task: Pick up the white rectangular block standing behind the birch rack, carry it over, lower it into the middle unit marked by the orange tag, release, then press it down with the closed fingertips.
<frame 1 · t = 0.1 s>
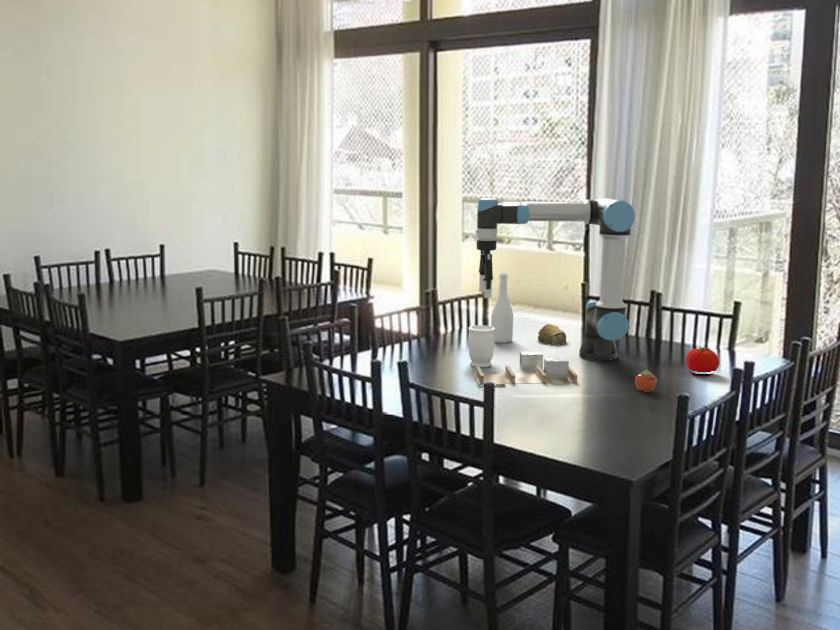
hand: (485, 294, 335), 28 cm above the table, fingers open, 13 cm apart
jar: (480, 365, 341), on the table
installed panel: (555, 378, 319), point 1 cm above the table, touching rack
rack: (525, 381, 318), on the table
white rectangular block: (530, 371, 333), on the table
tomato: (700, 374, 332), on the table
wine bottle: (501, 341, 384), on the table
pastry: (551, 342, 384), on the table
tomato 2: (645, 391, 307), on the table
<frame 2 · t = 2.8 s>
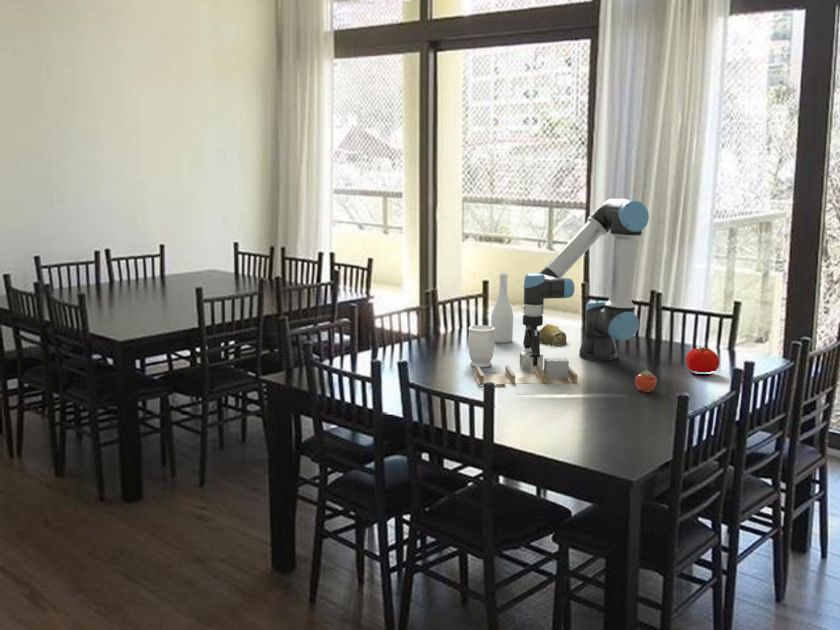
hand: (530, 369, 333), 1 cm above the table, fingers open, 13 cm apart
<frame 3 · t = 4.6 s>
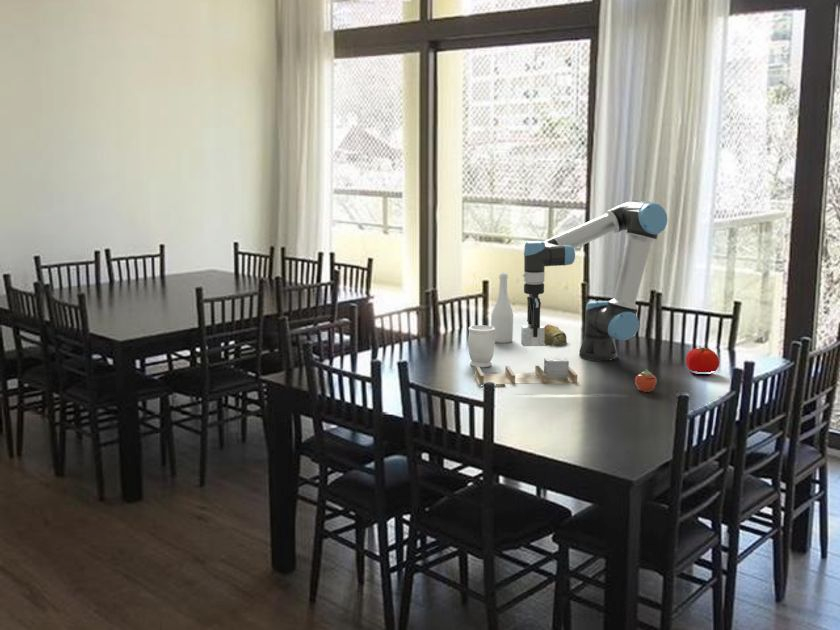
hand: (533, 343, 332), 11 cm above the table, fingers closed on white rectangular block, 4 cm apart
white rectangular block: (532, 344, 332), point 10 cm above the table, touching gripper
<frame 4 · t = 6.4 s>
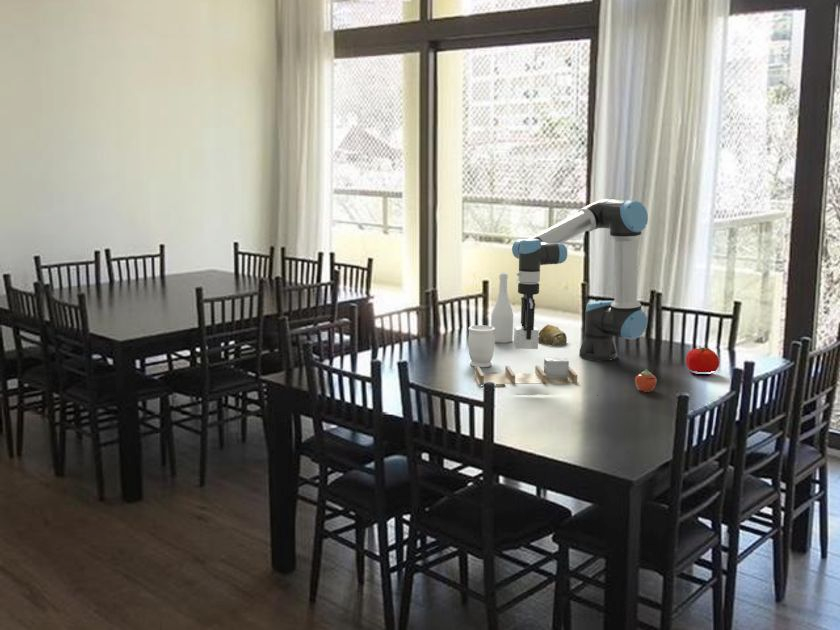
hand: (526, 346, 316), 13 cm above the table, fingers closed on white rectangular block, 4 cm apart
white rectangular block: (525, 347, 316), point 13 cm above the table, touching gripper
when the fingers open (1 cm above the table, at t = 8.6 s): white rectangular block stays where it is, resting on rack.
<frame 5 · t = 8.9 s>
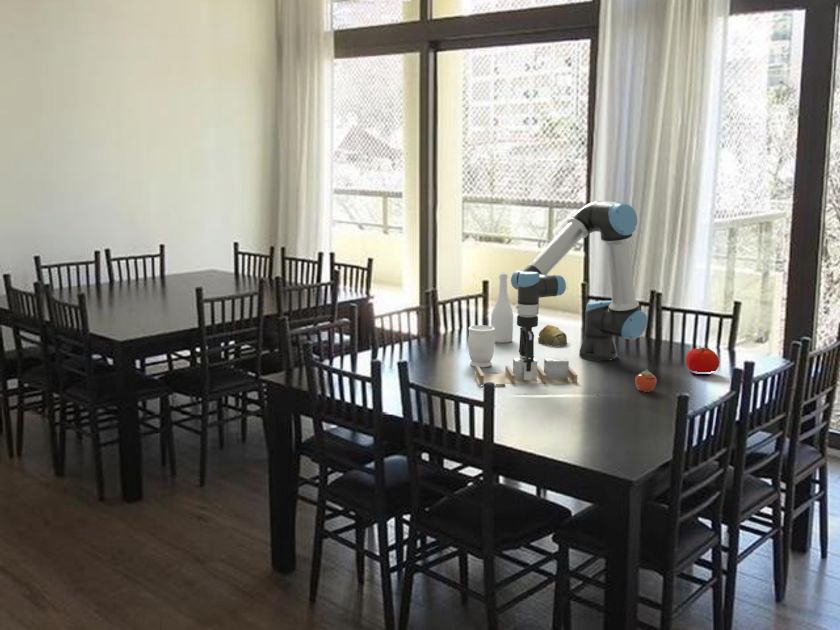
hand: (525, 376, 318), 2 cm above the table, fingers open, 8 cm apart
white rectangular block: (524, 378, 318), point 1 cm above the table, touching rack
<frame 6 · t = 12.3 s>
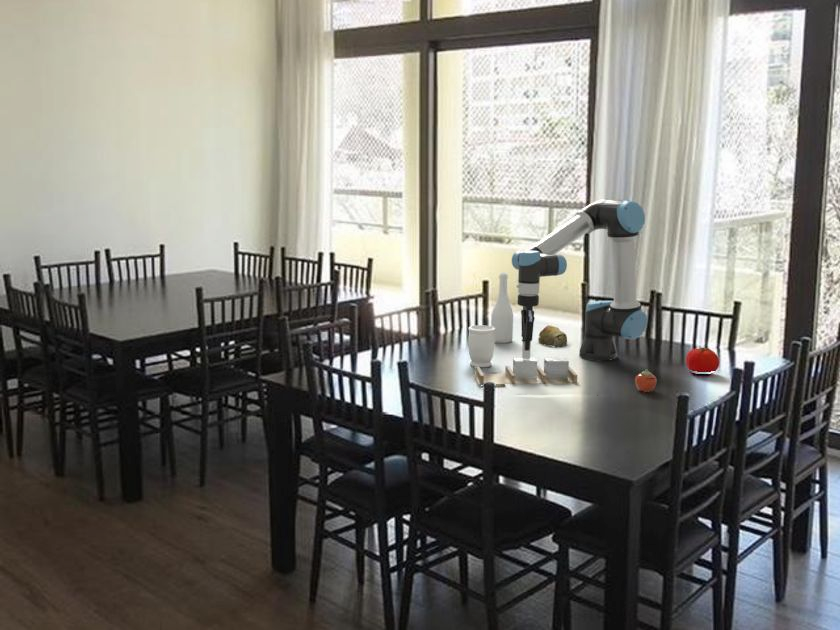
hand: (526, 358, 317), 9 cm above the table, fingers closed
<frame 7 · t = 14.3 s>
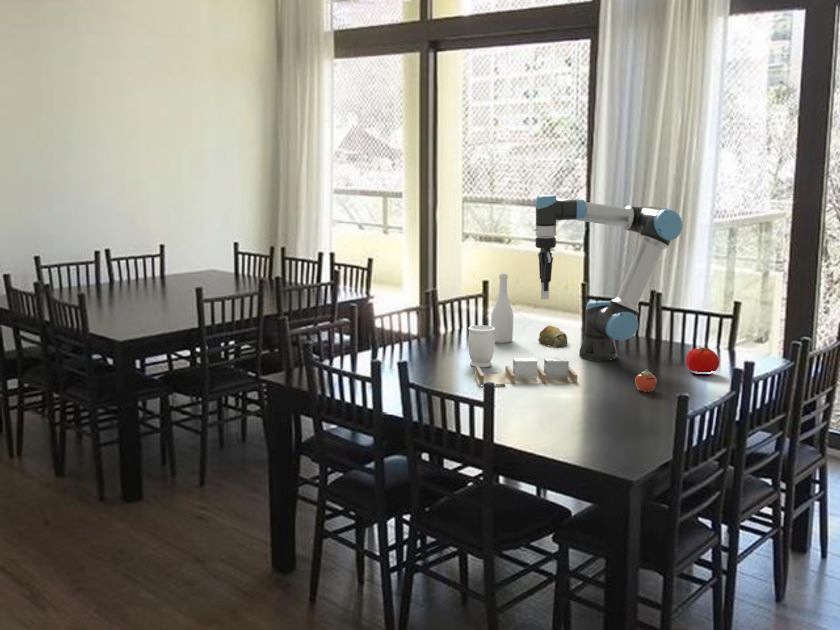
hand: (545, 299, 331), 27 cm above the table, fingers closed
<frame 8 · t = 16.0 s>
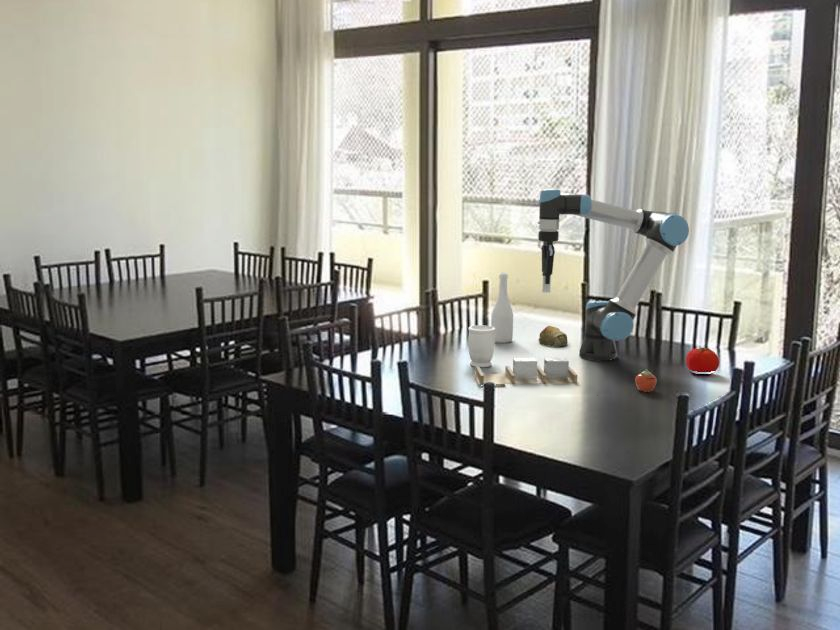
hand: (546, 292, 334), 29 cm above the table, fingers closed
at the end: white rectangular block inside the target area on the rack (0.3 cm from its centre), point 1.1 cm above the rack's base; white rectangular block tilted 0°; the gripper is holding nothing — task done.
